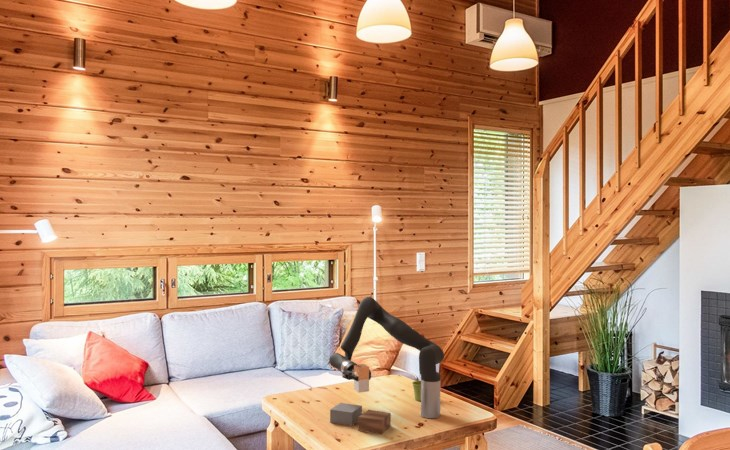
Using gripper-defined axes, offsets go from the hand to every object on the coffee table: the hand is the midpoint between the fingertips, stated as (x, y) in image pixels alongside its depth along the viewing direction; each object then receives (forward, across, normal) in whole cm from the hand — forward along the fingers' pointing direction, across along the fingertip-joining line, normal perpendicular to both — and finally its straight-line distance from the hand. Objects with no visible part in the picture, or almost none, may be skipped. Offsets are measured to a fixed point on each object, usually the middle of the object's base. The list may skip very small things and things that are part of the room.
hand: (363, 378), depth 268 cm
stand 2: (+4, +4, +22) cm, 22 cm away
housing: (-3, 0, +6) cm, 7 cm away
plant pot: (-27, +42, +22) cm, 55 cm away
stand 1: (-10, -5, +22) cm, 24 cm away
